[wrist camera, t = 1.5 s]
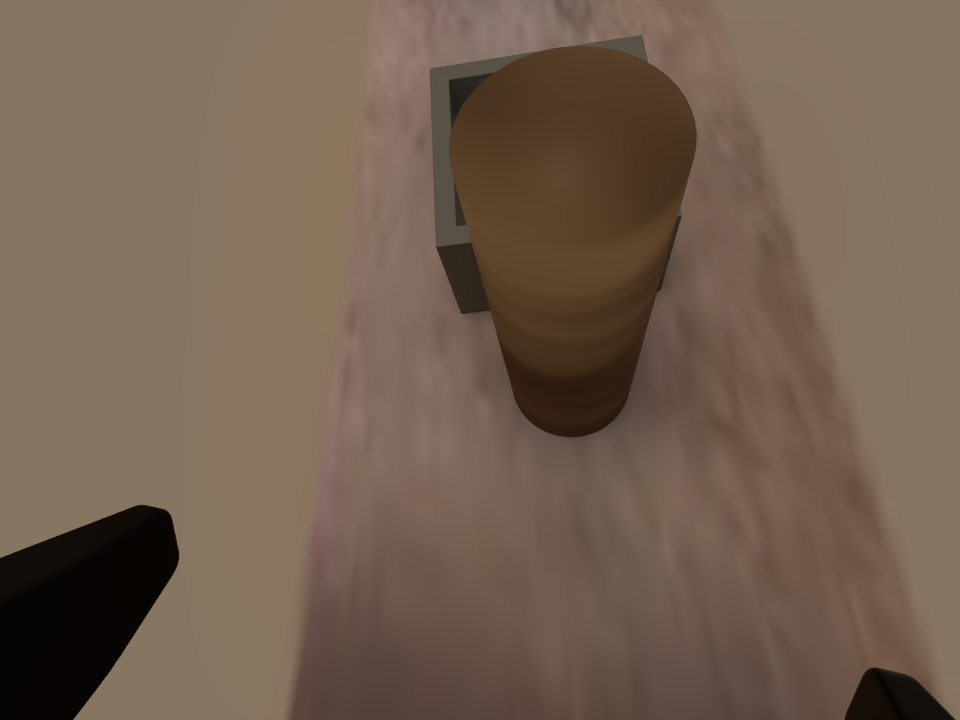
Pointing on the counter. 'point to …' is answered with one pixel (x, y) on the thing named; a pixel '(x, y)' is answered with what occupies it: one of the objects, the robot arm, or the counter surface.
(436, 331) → the counter surface
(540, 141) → the walnut peg
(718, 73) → the counter surface
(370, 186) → the counter surface
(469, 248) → the socket cup
